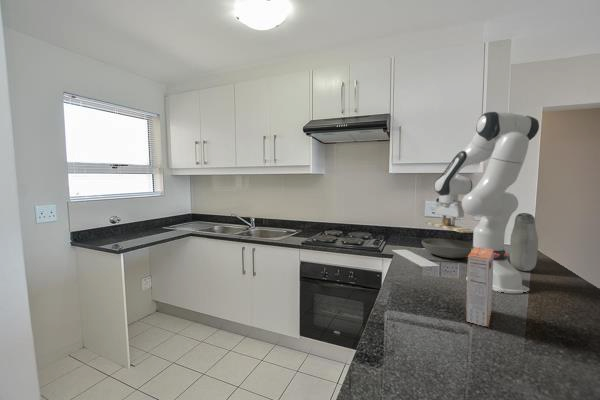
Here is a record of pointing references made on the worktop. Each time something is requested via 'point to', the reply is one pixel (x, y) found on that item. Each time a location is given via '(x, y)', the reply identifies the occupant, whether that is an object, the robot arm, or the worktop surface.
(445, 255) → the bowl
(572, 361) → the worktop surface
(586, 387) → the worktop surface
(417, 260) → the mat
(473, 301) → the cracker box
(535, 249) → the grey green vase
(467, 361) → the worktop surface
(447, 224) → the board
